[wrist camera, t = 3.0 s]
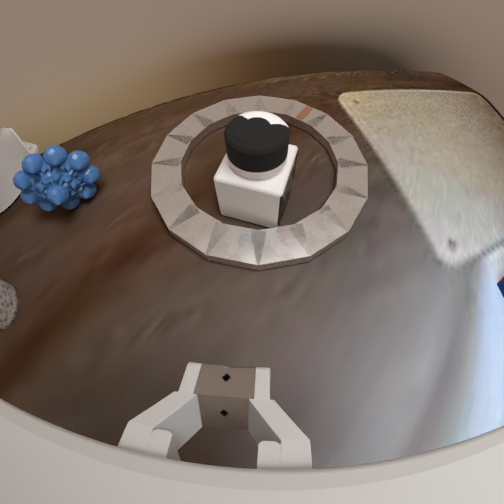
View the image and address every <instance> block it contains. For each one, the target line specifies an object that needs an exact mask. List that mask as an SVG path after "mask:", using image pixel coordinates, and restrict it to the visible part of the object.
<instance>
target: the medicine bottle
mask: <svg viewBox="0 0 504 504" xmlns="http://www.w3.org/2000/svg"><path fill="white" fill-rule="evenodd" d="M224 136H225V144H226V152H227V153H226V155H225V157H224V159H223V160H222V162H221V164H220V166H219V168H218V170H217V172H216V174H215V176H214V184H215V189H216V193H217V198H218V203H219V208H220V212H221V214H222V215H224V216H228V217H232V218H235V219H239V220H243V221H246V222H250V223H254V224H257V225H261V226H265V227H268V228H275V227H279V226H280V223H281V220H282V217H283V214H284V211H285V207H286V204H287V201H288V198H289V195H290V192H291V189H292V186H293V180H294V173H295V166H296V159H297V152H298V148H297V146H294V145H290V144H289V136H290V132H289V128H288V126H287V124H286V123H285V122H284V121H283V120H282V119H281V118H279V117H278V116H276V115H274V114H272V113H269V112H264V111H250V112H246V113H242V114H240V115H238V116H236V117H235V118H233V119H232V120H231V121H230V122H229V123H228V124H227V126H226V128H225V131H224Z"/></svg>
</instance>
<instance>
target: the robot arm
mask: <svg viewBox="0 0 504 504" xmlns="http://www.w3.org/2000/svg"><path fill="white" fill-rule="evenodd" d="M38 151H39V147H38V146H37V145H35V144H32V143H28V142H24V141H21V139H20V138H19V137H18V135H17V134H16V133H15V132H14V130H13V129H12V128H10V129H9V128H1V127H0V213H1V212H3V211H4V210H5V209H6V208H8V207H9V206H10V205H11V204H12V203H13V201H14V200H15V199H16V198H17V197H18V195H19V194H20V193H21V191H22V190H20V189H18V188H16V187H15V185H14V184H13V178H14V176H15V174H16V173H17V172H18V171H20V170H23V169H22V161H23V159H24V157H26V156H27V155H29V154H37V153H38ZM255 373H256V374H255ZM202 425H203V426H214V427H227V428H236V429H248V431H249V433H250V434H251V436H252V437H253V439H254V441H255V442H256V444H257V445H258V457H257V468H256V469H249V468H234V467H223V466H213V465H205V464H198V463H191V462H185V461H181V460H180V457H179V454H178V451H177V450H179V449H180V448H181V447H182V446H183V445H184V444H185V443H186V442H187V441H188V440H189V439H190V438H191V437H192V436H193V435H194V434H195V433H196V432H197V431H198V430H199V429H200V428H202ZM0 504H504V426H501V427H499V428H497V429H494V430H492V431H489V432H487V433H484V434H481V435H479V436H476V437H473V438H470V439H468V440H465V441H462V442H459V443H456V444H452V445H449V446H446V447H442V448H439V449H435V450H431V451H428V452H424V453H420V454H415V455H411V456H406V457H402V458H397V459H391V460H386V461H380V462H374V463H367V464H360V465H351V466H342V467H331V468H316V469H312V457H311V446H310V440H309V439H308V438H307V436H306V435H305V434H304V433H303V432H302V431H301V430H300V429H299V428H298V427H297V425H296V424H295V423H294V422H293V421H292V420H291V419H290V418H289V417H288V415H287V414H286V413H285V412H284V411H283V410H282V409H281V407H280V406H279V405H278V404H277V403H276V402H275V401H274V400H270V368H263V367H236V366H223V365H213V364H204V363H203V364H202V363H194V362H189V363H188V364H187V367H186V370H185V373H184V376H183V379H182V382H181V384H180V387H179V390H178V392H175V391H174V392H173V393H171V394H170V395H168V396H167V397H165V398H164V399H162V400H161V401H159V402H158V403H156V404H155V405H153V406H152V407H150V408H149V409H147V410H146V411H144V412H142V413H141V414H139V415H138V416H136V417H135V418H133V419H132V420H130V421H128V424H127V426H126V428H125V430H124V433H123V435H122V437H121V440H120V442H119V444H118V446H114V445H110V444H107V443H104V442H101V441H98V440H94V439H91V438H88V437H86V436H83V435H80V434H77V433H74V432H72V431H69V430H67V429H64V428H61V427H59V426H57V425H54V424H52V423H49V422H47V421H45V420H43V419H40V418H38V417H36V416H34V415H32V414H30V413H27V412H25V411H23V410H21V409H19V408H17V407H15V406H14V405H12V404H10V403H8V402H6V401H4V400H2V399H1V398H0Z"/></svg>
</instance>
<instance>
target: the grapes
mask: <svg viewBox="0 0 504 504" xmlns="http://www.w3.org/2000/svg"><path fill="white" fill-rule="evenodd" d="M89 163H90V158H89V156H88V155H87V154H86V153H85V152H83V151H73V152H72V153H70V154H69V155H68V156H67V152H66V151H65V149H64V148H62V147H60V146H50V147H49V148H47V149H46V150H45V152H44V154H43V157H42V156H40V155H38V154H29V155H27V156H26V157H24V159H23V161H22V169H23V170H20V171H18V172H17V173H16V174H15V176H14V178H13V184H14V185H15V187H16V188H18V189H20V190H22V191H21V193H20V198H21V200H22V201H23V202H24V203H26V204H30V205H33V204H36V203H37V202H38V204H39V207H40V208H41V209H42V210H44V211H47V212H51V211H54V210H55V209H56V208H58V206H59V205H61V206H62V207H63V208H65V209H70V210H71V209H74V208H76V207H77V206H79V204H80V202H81V201H80V198H82V199H89V198H92V197H93V196H94V195H95V193H96V192H97V189H96V186H95V184H94V183H96V182H97V181H99V179H100V177H101V172H100V170H99V169H98V168H97V167H96V166H94V165H89Z"/></svg>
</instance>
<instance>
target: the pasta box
mask: <svg viewBox="0 0 504 504" xmlns="http://www.w3.org/2000/svg"><path fill="white" fill-rule="evenodd" d="M497 285H498V287H499V289H500V291H501V293H502V295H503V297H504V277H503V278H502V279H501V280H500V281H499V282H498V283H497Z"/></svg>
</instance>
